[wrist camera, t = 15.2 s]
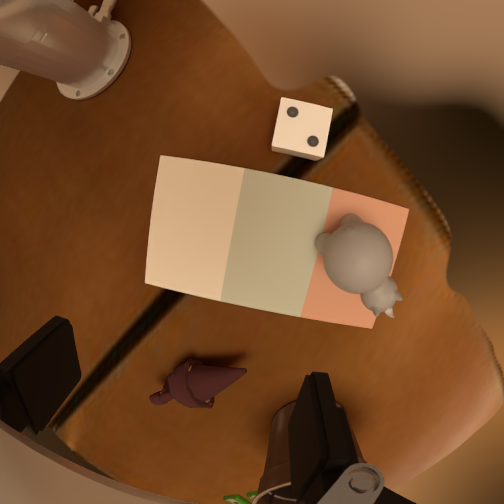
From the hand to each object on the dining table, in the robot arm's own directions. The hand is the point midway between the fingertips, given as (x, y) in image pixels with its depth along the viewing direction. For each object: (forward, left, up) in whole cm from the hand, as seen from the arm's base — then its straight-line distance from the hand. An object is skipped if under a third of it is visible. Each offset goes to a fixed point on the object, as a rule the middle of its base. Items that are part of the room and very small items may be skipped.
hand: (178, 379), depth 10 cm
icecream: (+19, -2, -25) cm, 31 cm away
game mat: (0, +4, -24) cm, 25 cm away
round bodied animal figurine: (0, +14, -24) cm, 28 cm away
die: (-13, +4, -24) cm, 28 cm away
